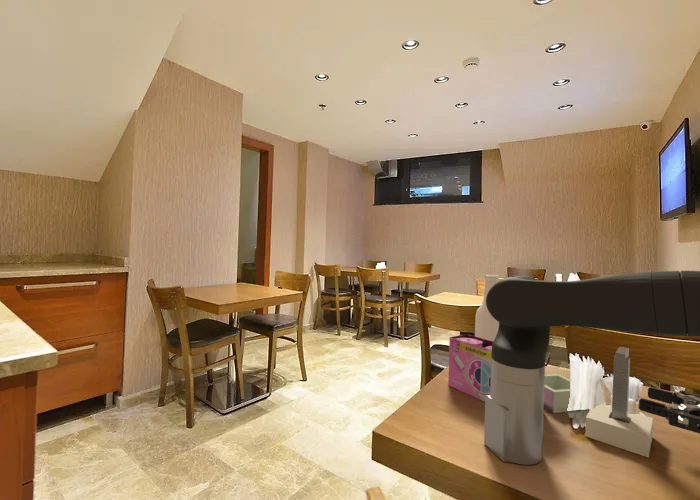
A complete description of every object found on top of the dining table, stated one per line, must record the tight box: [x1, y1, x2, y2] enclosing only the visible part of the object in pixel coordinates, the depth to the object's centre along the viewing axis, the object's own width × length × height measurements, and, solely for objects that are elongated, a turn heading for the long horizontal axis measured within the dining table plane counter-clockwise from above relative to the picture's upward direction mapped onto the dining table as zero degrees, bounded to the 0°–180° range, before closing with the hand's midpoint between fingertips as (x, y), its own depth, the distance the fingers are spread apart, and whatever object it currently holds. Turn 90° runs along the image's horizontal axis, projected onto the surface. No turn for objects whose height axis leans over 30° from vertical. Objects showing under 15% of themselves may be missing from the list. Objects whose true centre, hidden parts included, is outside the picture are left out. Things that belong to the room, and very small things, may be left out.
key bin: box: [544, 373, 571, 414], centre depth 88 cm, size 10×10×5 cm
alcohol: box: [474, 274, 500, 341], centre depth 107 cm, size 9×9×30 cm
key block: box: [584, 403, 654, 459], centre depth 73 cm, size 10×10×4 cm
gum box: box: [447, 333, 493, 403], centre depth 89 cm, size 24×8×14 cm, turn 33°
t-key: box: [611, 346, 631, 423], centre depth 72 cm, size 6×2×18 cm, turn 136°
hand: (643, 397), depth 70 cm, fingers open, 8 cm apart
